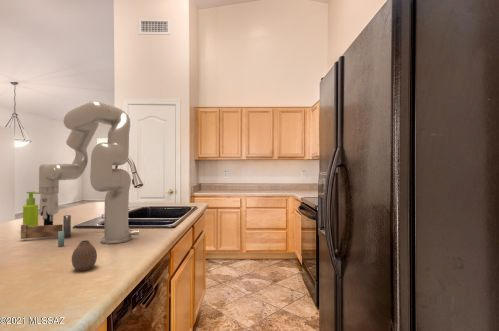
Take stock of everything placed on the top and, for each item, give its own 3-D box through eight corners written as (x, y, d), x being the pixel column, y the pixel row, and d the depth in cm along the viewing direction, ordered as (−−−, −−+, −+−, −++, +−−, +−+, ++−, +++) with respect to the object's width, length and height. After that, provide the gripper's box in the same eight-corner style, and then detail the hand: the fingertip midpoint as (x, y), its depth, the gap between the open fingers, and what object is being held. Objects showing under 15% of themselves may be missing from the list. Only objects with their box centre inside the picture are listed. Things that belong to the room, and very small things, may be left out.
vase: (91, 263, 91) (91, 237, 91) (100, 268, 87) (100, 240, 87) (68, 269, 86) (68, 241, 86) (76, 274, 82) (76, 245, 82)
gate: (62, 235, 125) (62, 222, 125) (61, 236, 123) (61, 223, 123) (23, 237, 120) (23, 224, 120) (20, 239, 118) (20, 225, 118)
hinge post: (71, 236, 126) (71, 215, 126) (69, 238, 124) (69, 216, 124) (64, 237, 125) (64, 215, 125) (62, 238, 123) (62, 216, 123)
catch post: (64, 245, 112) (64, 230, 112) (63, 246, 110) (63, 231, 110) (59, 245, 112) (59, 231, 112) (57, 247, 110) (57, 232, 110)
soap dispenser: (31, 233, 131) (31, 192, 132) (19, 233, 133) (20, 192, 133) (42, 231, 137) (43, 191, 137) (31, 230, 139) (31, 191, 139)
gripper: (52, 191, 122) (52, 232, 121) (63, 189, 136) (62, 225, 136) (32, 192, 119) (31, 234, 119) (45, 189, 133) (44, 226, 133)
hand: (48, 229), depth 127 cm, fingers closed
